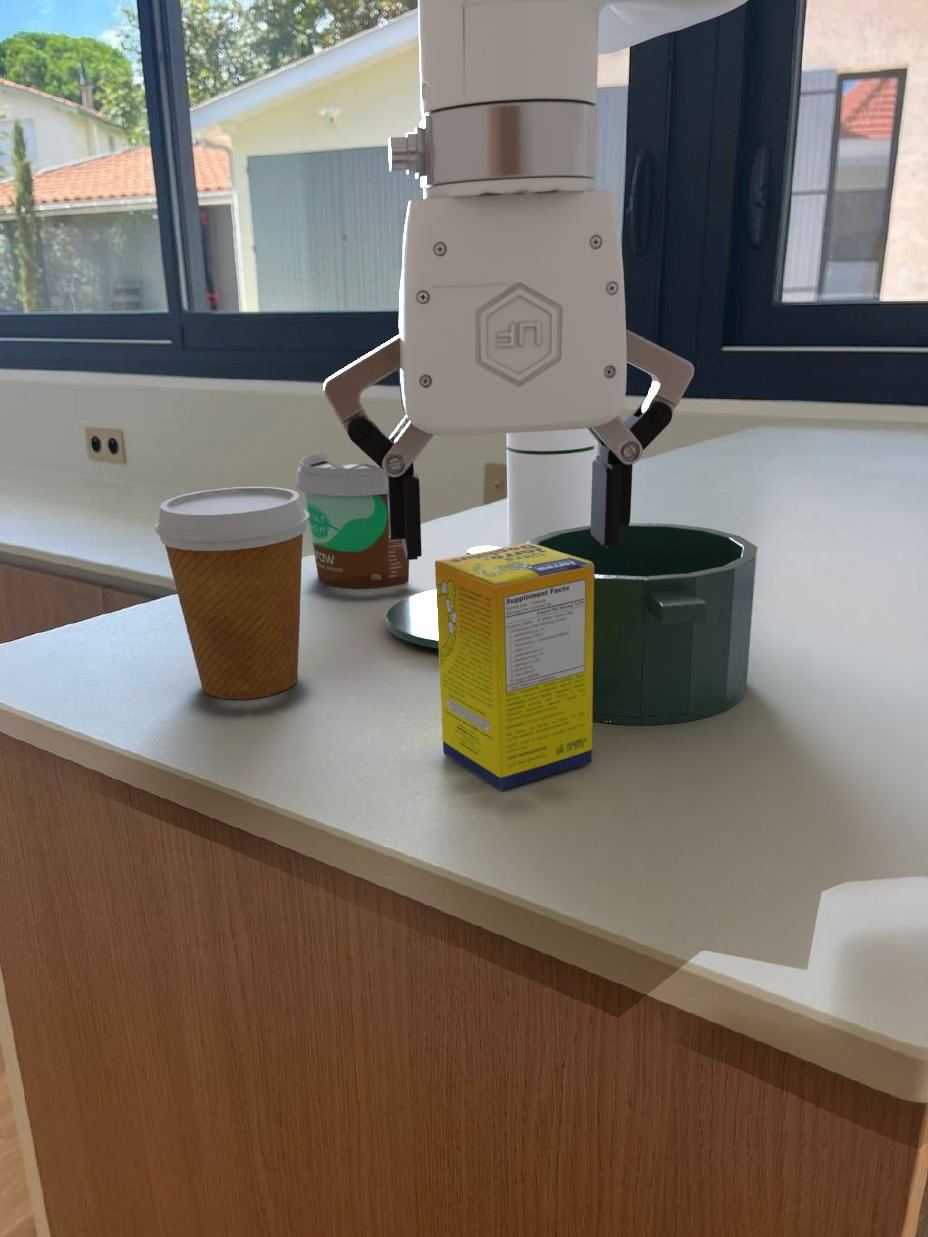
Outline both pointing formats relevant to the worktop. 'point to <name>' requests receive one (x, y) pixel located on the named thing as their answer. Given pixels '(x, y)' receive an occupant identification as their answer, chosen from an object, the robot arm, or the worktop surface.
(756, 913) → the worktop surface
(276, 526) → the disposable coffee cup
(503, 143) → the robot arm
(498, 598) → the supplement box
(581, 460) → the cylindrical container
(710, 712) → the pot
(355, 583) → the food container
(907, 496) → the worktop surface
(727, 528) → the worktop surface
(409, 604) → the lid
